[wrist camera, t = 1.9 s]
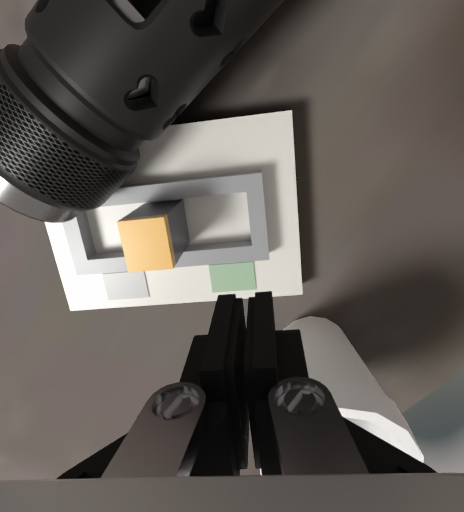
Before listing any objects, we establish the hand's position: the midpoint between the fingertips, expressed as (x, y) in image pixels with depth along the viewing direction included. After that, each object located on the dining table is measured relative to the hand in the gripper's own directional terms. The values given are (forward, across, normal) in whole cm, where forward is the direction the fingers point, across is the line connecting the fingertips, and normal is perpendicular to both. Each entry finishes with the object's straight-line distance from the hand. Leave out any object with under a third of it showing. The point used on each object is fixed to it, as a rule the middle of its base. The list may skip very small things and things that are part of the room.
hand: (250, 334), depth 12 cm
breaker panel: (+19, +7, 0) cm, 20 cm away
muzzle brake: (+19, +4, -13) cm, 23 cm away
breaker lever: (+17, +7, 0) cm, 18 cm away
